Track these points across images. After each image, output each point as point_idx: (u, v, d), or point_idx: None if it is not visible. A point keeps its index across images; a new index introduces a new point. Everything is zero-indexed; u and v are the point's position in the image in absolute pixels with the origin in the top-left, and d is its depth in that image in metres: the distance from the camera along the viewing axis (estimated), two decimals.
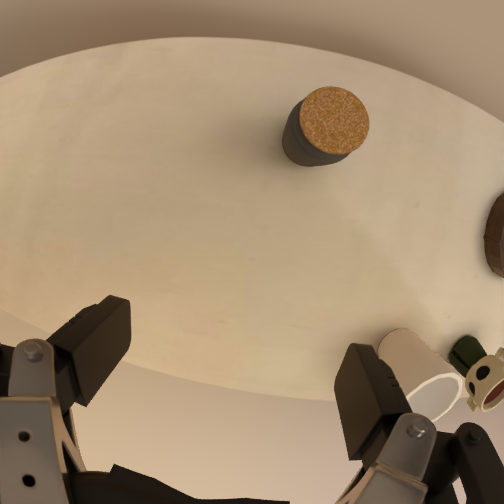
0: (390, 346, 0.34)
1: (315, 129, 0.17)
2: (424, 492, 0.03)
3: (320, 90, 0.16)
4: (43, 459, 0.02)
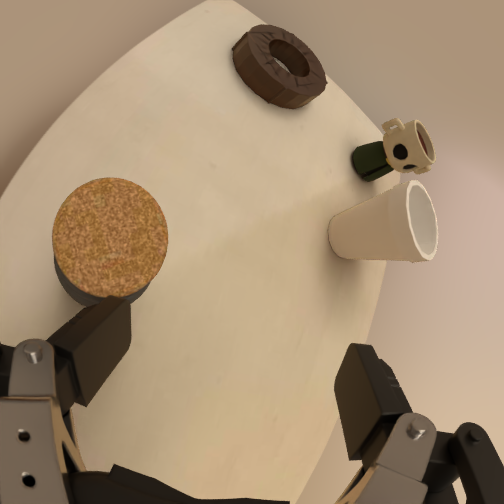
0: (346, 245, 0.35)
1: (117, 274, 0.10)
2: (424, 492, 0.03)
3: (56, 238, 0.09)
4: (43, 459, 0.02)
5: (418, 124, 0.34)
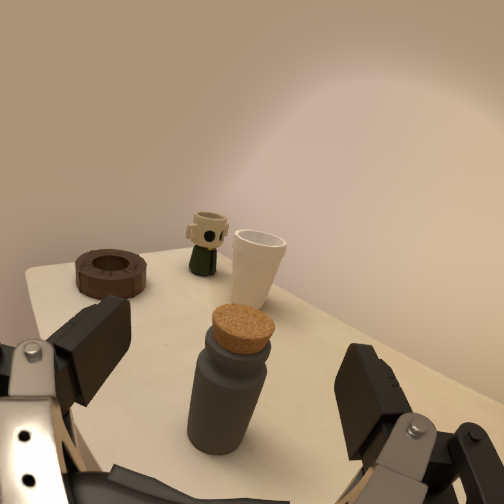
0: (255, 297, 0.51)
1: (264, 323, 0.21)
2: (424, 492, 0.03)
3: (238, 334, 0.19)
4: (43, 459, 0.02)
5: (197, 214, 0.61)
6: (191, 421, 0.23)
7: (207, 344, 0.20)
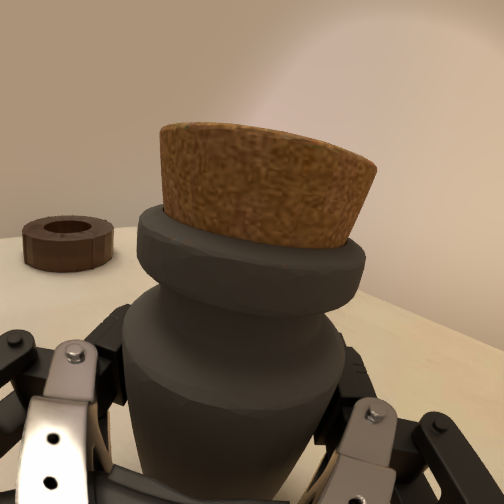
0: None
1: None
2: (393, 478, 0.03)
3: None
4: (70, 464, 0.03)
5: None
6: None
7: (138, 232, 0.05)
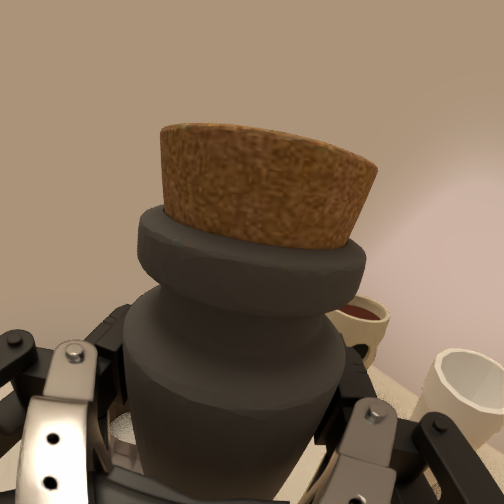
0: None
1: None
2: (393, 478, 0.03)
3: None
4: (70, 464, 0.03)
5: None
6: None
7: (138, 233, 0.05)
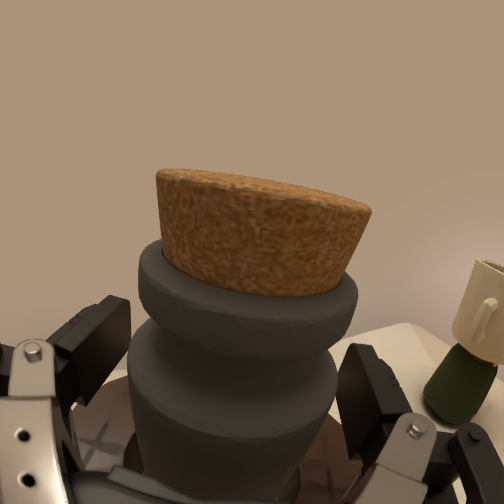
0: None
1: (333, 194, 0.06)
2: (424, 492, 0.03)
3: (252, 186, 0.04)
4: (43, 459, 0.02)
5: None
6: None
7: (139, 274, 0.05)
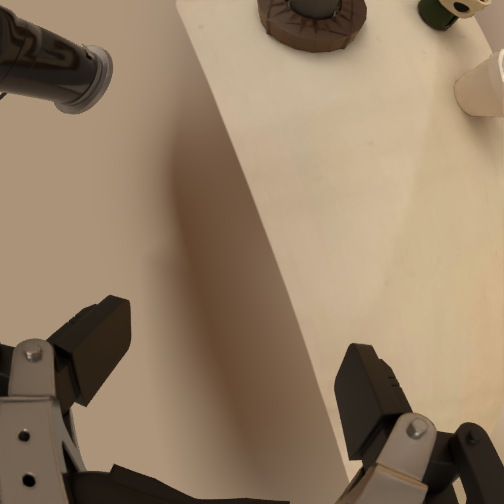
0: (479, 114, 0.27)
1: None
2: (424, 492, 0.03)
3: None
4: (43, 459, 0.02)
5: None
6: (293, 6, 0.25)
7: None
